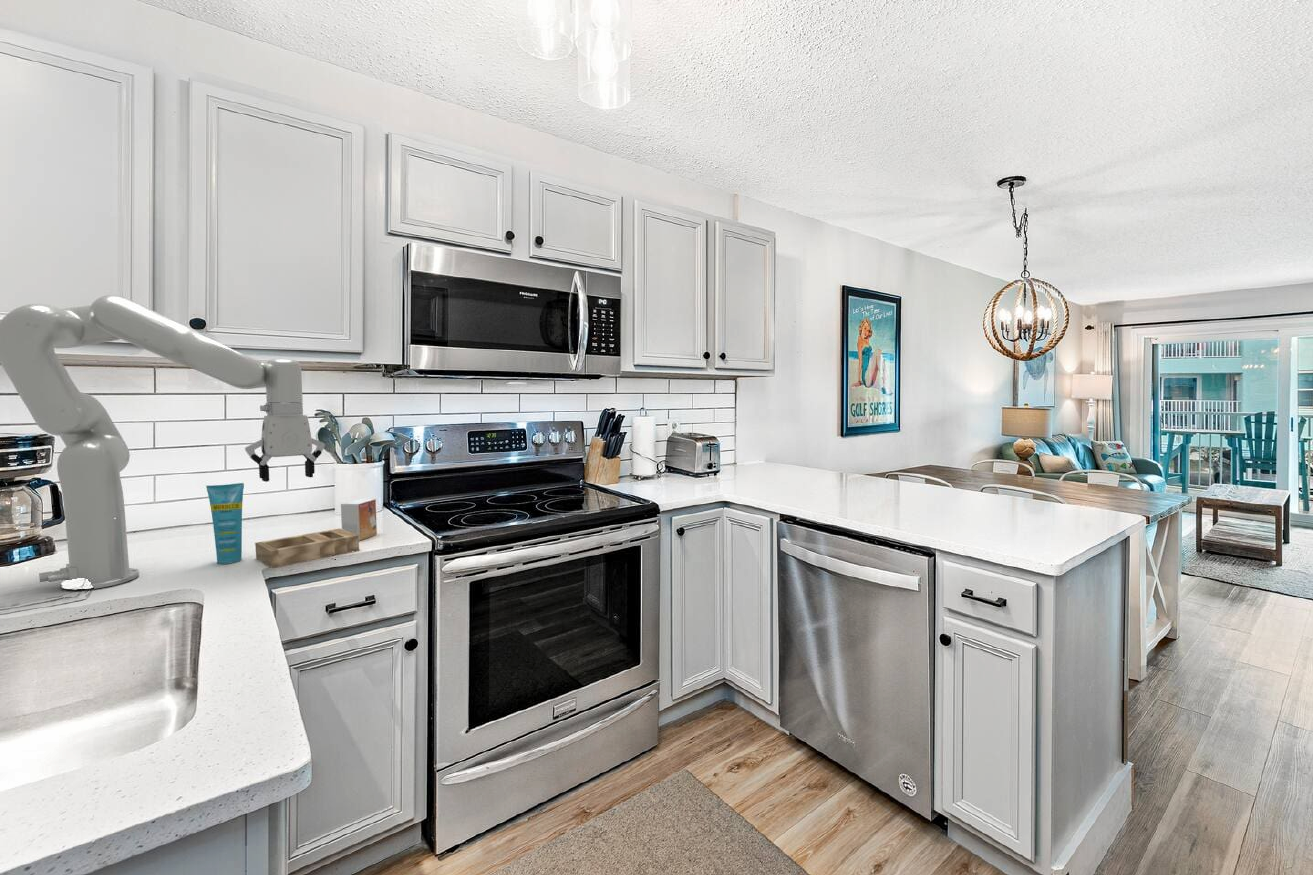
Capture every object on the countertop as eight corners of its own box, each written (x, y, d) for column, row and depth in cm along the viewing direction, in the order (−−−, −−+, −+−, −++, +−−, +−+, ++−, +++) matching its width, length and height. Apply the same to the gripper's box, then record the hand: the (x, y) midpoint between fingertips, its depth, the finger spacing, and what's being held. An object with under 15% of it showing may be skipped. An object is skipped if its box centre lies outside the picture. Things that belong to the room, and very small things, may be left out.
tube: (210, 566, 143) (205, 486, 141) (211, 561, 147) (206, 483, 145) (248, 561, 147) (243, 483, 145) (248, 556, 151) (244, 481, 149)
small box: (359, 541, 165) (358, 504, 164) (341, 540, 166) (339, 503, 165) (377, 534, 173) (376, 498, 172) (360, 533, 174) (358, 498, 173)
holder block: (272, 567, 141) (271, 551, 141) (256, 558, 149) (255, 542, 149) (359, 550, 156) (358, 535, 156) (340, 542, 164) (340, 528, 164)
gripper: (248, 411, 138) (252, 484, 139) (328, 409, 151) (331, 476, 152) (239, 410, 143) (242, 481, 144) (317, 408, 156) (319, 474, 157)
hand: (287, 478), depth 148 cm, fingers open, 9 cm apart
